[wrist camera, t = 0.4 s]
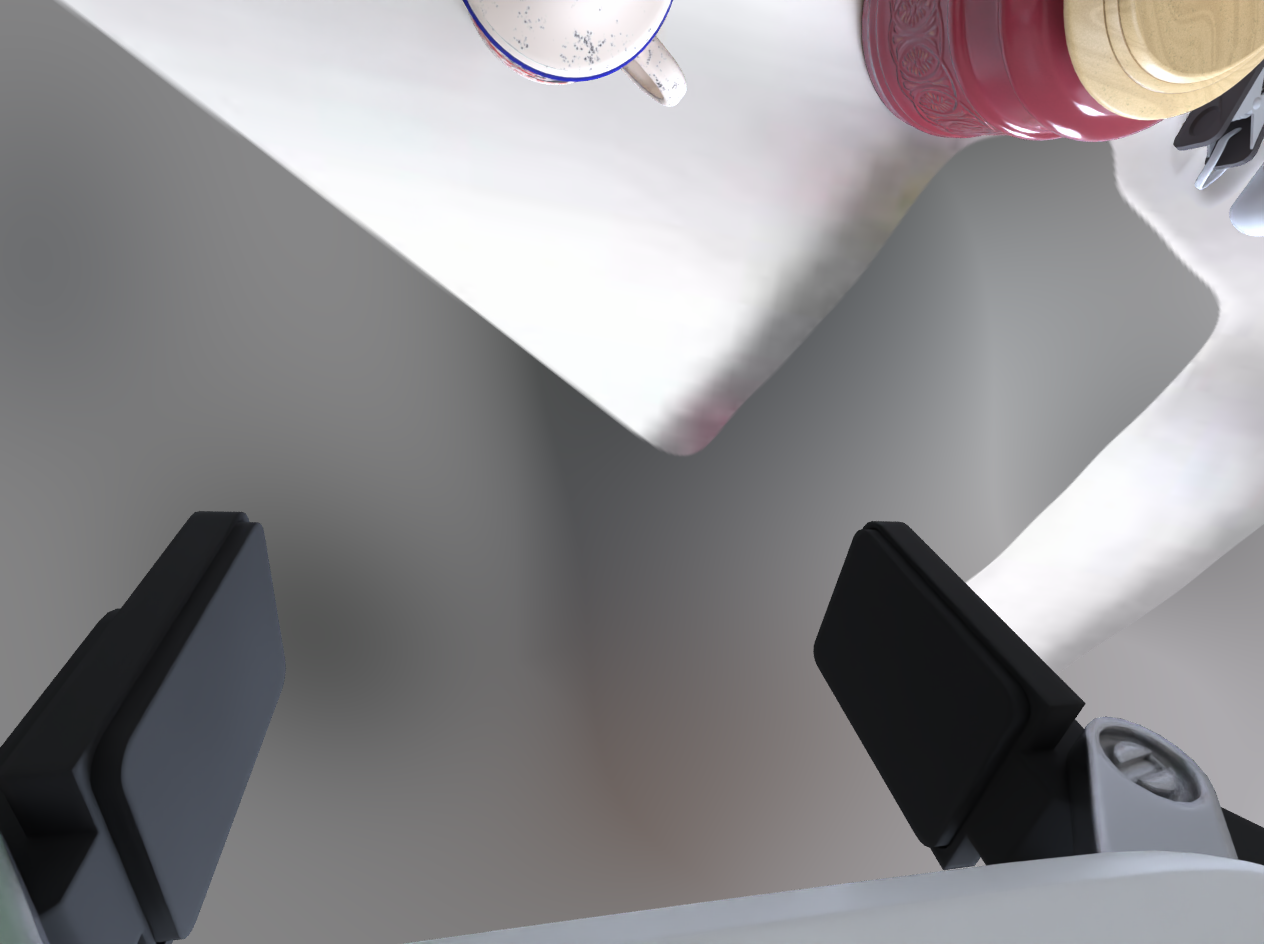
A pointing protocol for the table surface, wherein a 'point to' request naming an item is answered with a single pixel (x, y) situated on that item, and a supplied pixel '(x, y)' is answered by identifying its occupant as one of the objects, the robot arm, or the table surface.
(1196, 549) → the table surface
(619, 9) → the teacup with lid
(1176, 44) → the kitchen canister
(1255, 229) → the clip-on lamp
